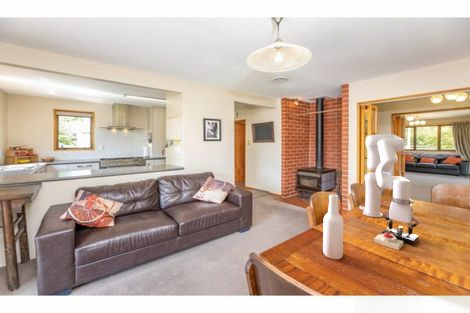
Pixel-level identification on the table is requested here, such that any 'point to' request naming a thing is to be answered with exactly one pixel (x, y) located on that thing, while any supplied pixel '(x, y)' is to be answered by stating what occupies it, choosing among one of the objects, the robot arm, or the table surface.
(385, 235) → the button
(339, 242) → the alcohol
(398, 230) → the hob knob
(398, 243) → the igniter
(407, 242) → the panel
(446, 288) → the table surface
